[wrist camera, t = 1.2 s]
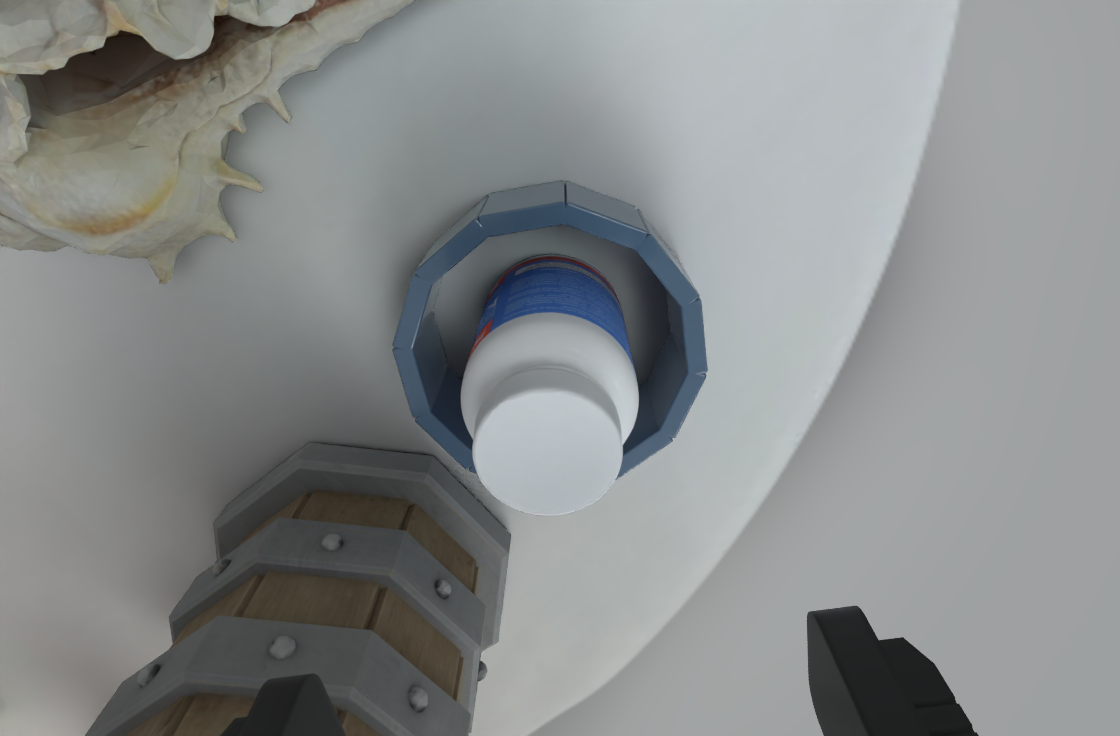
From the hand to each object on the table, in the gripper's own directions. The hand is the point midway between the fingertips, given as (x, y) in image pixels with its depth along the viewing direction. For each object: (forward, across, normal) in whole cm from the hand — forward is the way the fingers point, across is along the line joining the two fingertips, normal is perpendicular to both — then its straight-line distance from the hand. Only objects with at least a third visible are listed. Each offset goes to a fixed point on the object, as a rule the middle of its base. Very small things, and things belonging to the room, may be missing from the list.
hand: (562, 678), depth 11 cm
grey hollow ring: (+17, 0, 0) cm, 17 cm away
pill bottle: (+17, 0, 0) cm, 17 cm away
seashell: (+17, +6, -11) cm, 21 cm away
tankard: (+17, +14, +12) cm, 25 cm away
